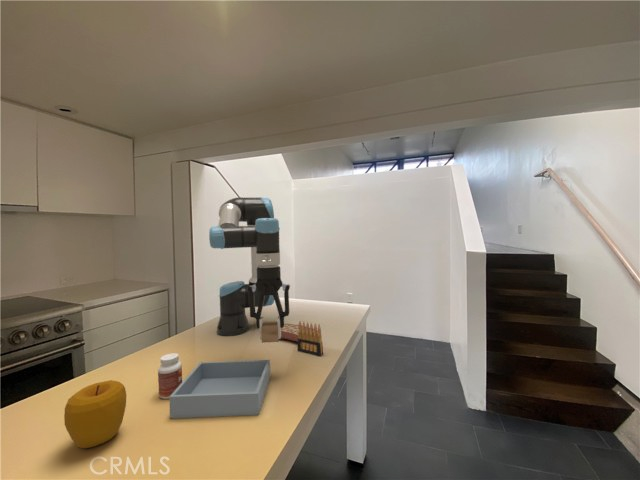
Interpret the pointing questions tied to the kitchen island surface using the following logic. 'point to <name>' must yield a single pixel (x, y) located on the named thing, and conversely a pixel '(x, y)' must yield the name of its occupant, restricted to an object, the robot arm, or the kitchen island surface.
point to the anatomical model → (291, 332)
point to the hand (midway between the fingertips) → (270, 337)
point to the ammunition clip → (310, 339)
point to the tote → (222, 389)
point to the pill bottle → (169, 375)
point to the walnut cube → (269, 331)
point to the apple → (95, 413)
